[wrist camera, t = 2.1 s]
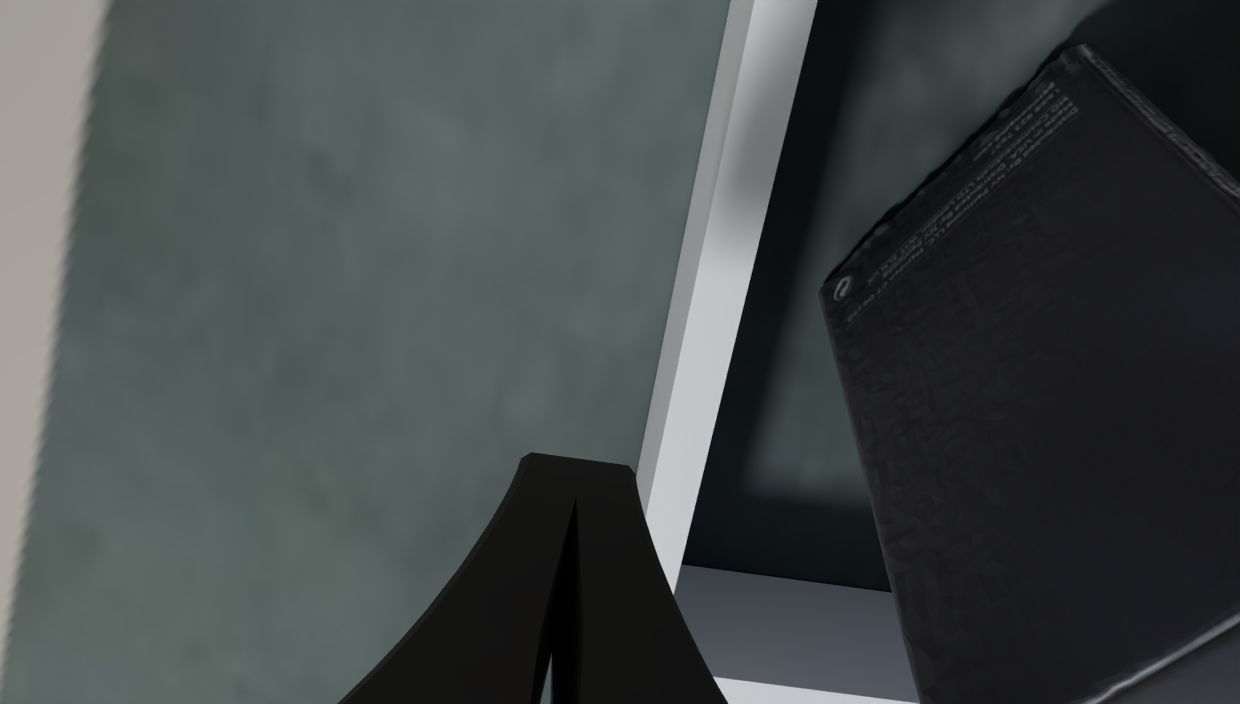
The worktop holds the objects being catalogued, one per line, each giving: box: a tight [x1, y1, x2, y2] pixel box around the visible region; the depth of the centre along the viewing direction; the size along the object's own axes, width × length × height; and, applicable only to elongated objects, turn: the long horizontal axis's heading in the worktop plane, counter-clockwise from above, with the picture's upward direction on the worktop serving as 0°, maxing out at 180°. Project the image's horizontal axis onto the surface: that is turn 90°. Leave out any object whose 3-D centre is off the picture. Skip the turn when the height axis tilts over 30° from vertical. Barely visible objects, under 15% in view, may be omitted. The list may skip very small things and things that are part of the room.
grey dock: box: [636, 0, 920, 704], centre depth 18 cm, size 16×16×3 cm
